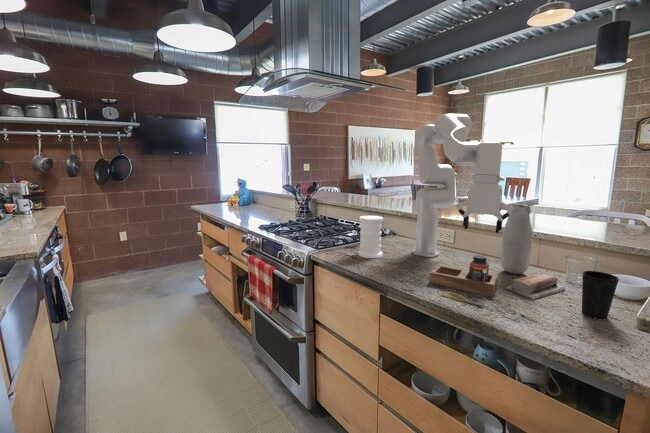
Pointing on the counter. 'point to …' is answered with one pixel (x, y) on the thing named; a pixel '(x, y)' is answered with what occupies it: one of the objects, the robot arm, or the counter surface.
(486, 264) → the supplement bottle
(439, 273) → the rack
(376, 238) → the decorative container
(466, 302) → the tongs
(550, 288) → the packaged product
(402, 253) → the counter surface
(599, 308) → the cup
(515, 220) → the glass bottle
